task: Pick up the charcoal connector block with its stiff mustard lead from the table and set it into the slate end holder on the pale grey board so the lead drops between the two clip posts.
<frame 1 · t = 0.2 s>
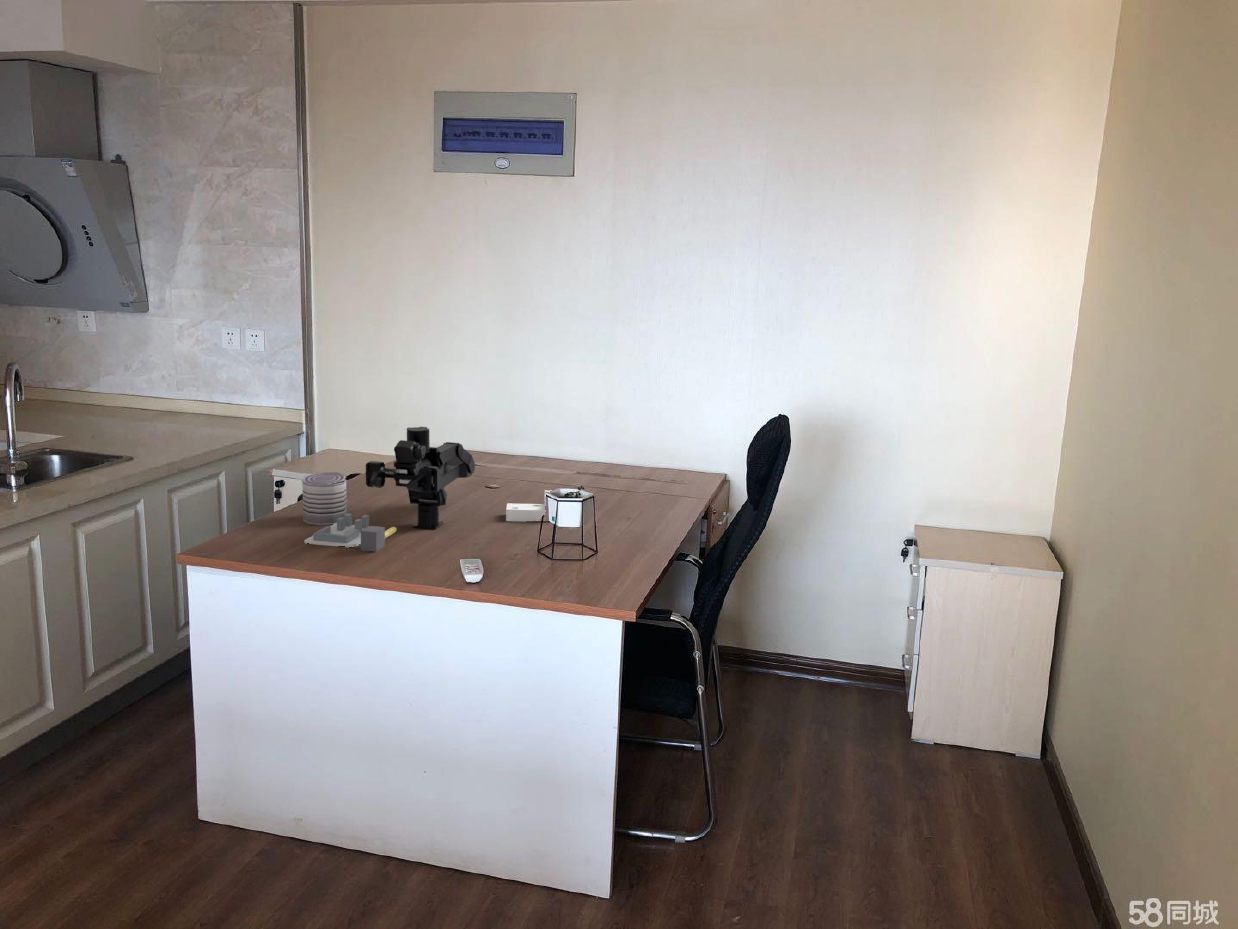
hand: (389, 484, 235), 17 cm above the table, tool horizontal, fingers open, 9 cm apart
can: (325, 520, 264), on the table
plug: (373, 548, 240), on the table
bracket: (529, 519, 275), on the table
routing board: (344, 536, 249), on the table
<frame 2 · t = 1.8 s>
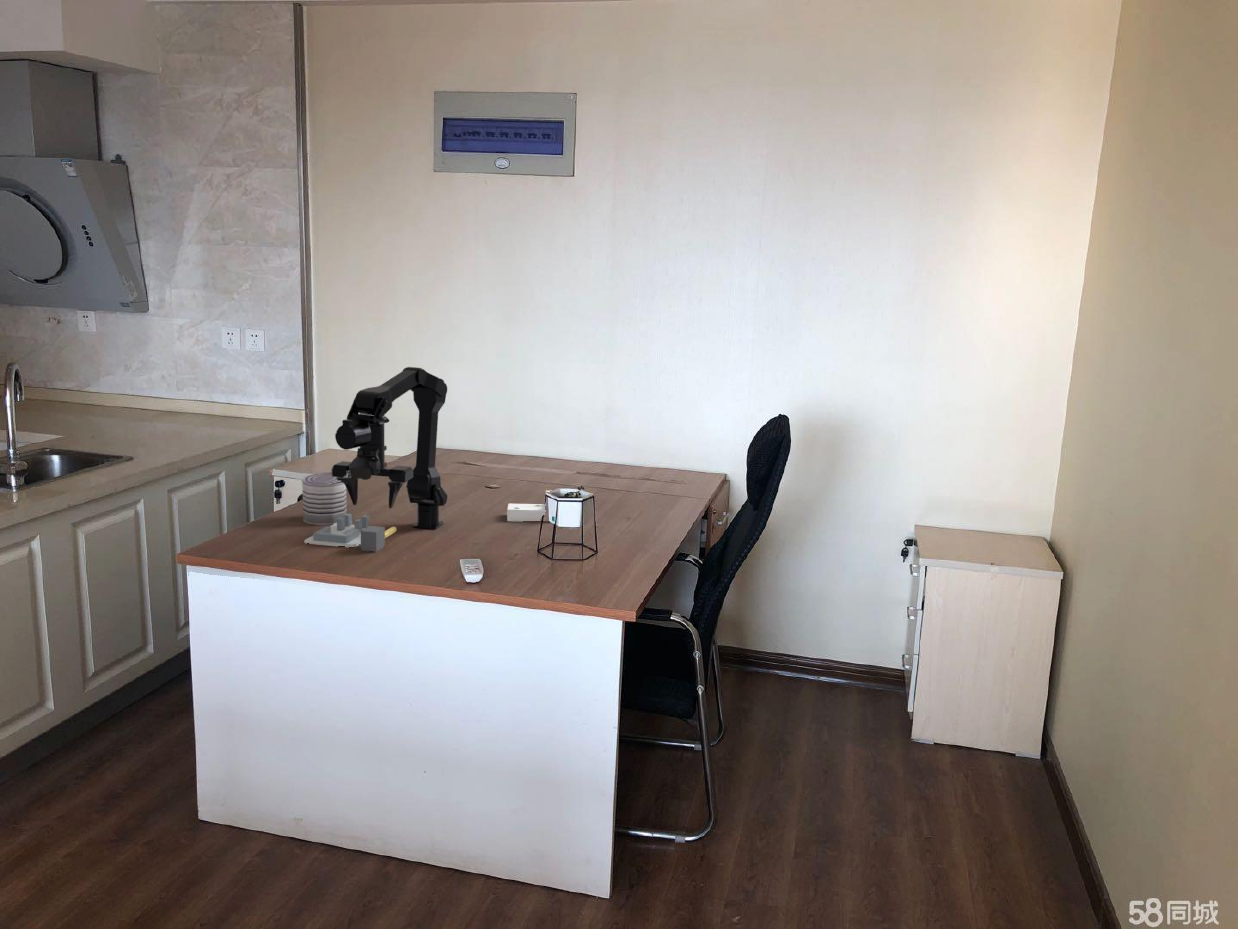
hand: (372, 506, 238), 11 cm above the table, tool pointing down, fingers open, 9 cm apart
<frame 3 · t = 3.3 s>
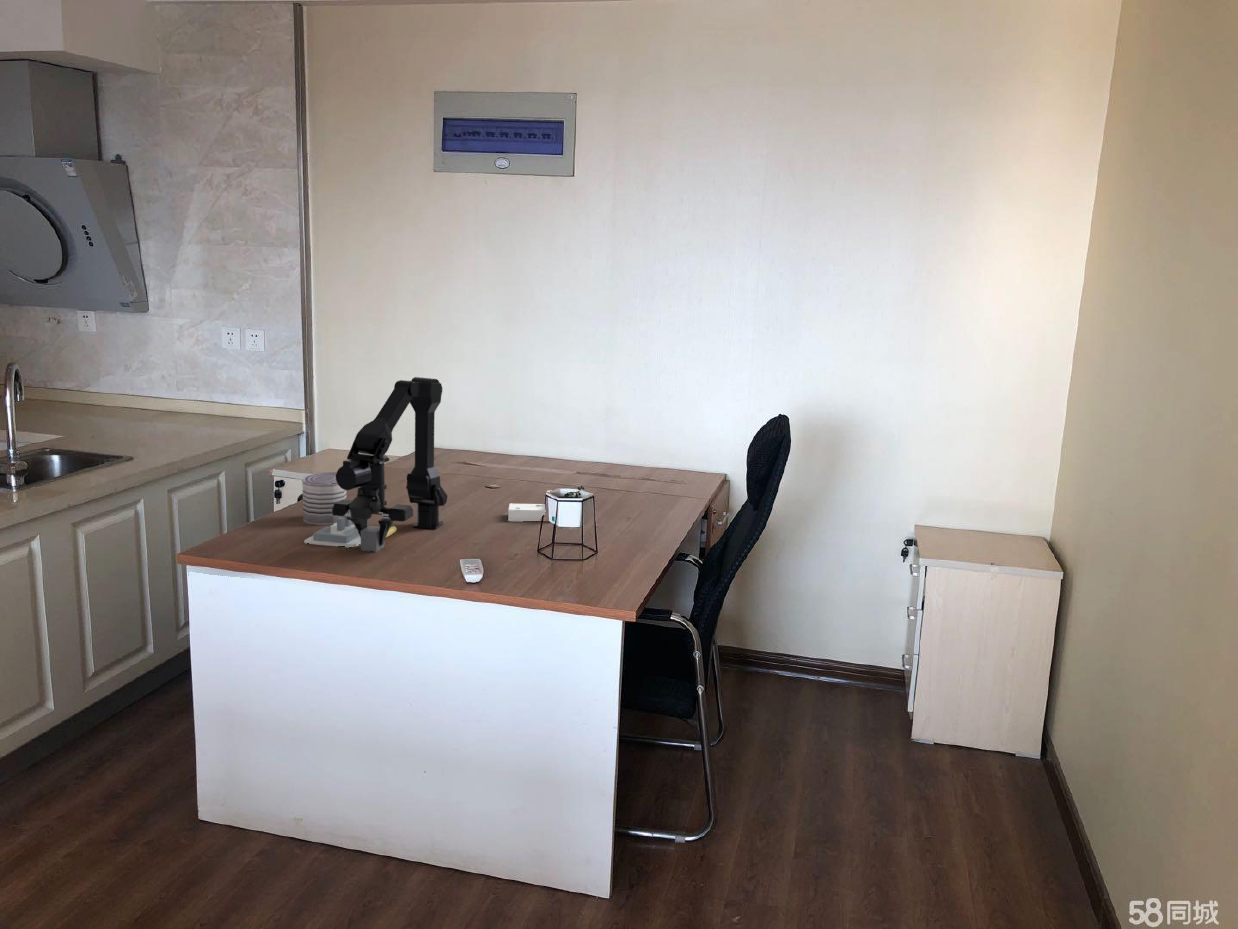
hand: (372, 544, 240), 1 cm above the table, tool pointing down, fingers closed on plug, 4 cm apart
plug: (372, 548, 240), on the table, touching gripper
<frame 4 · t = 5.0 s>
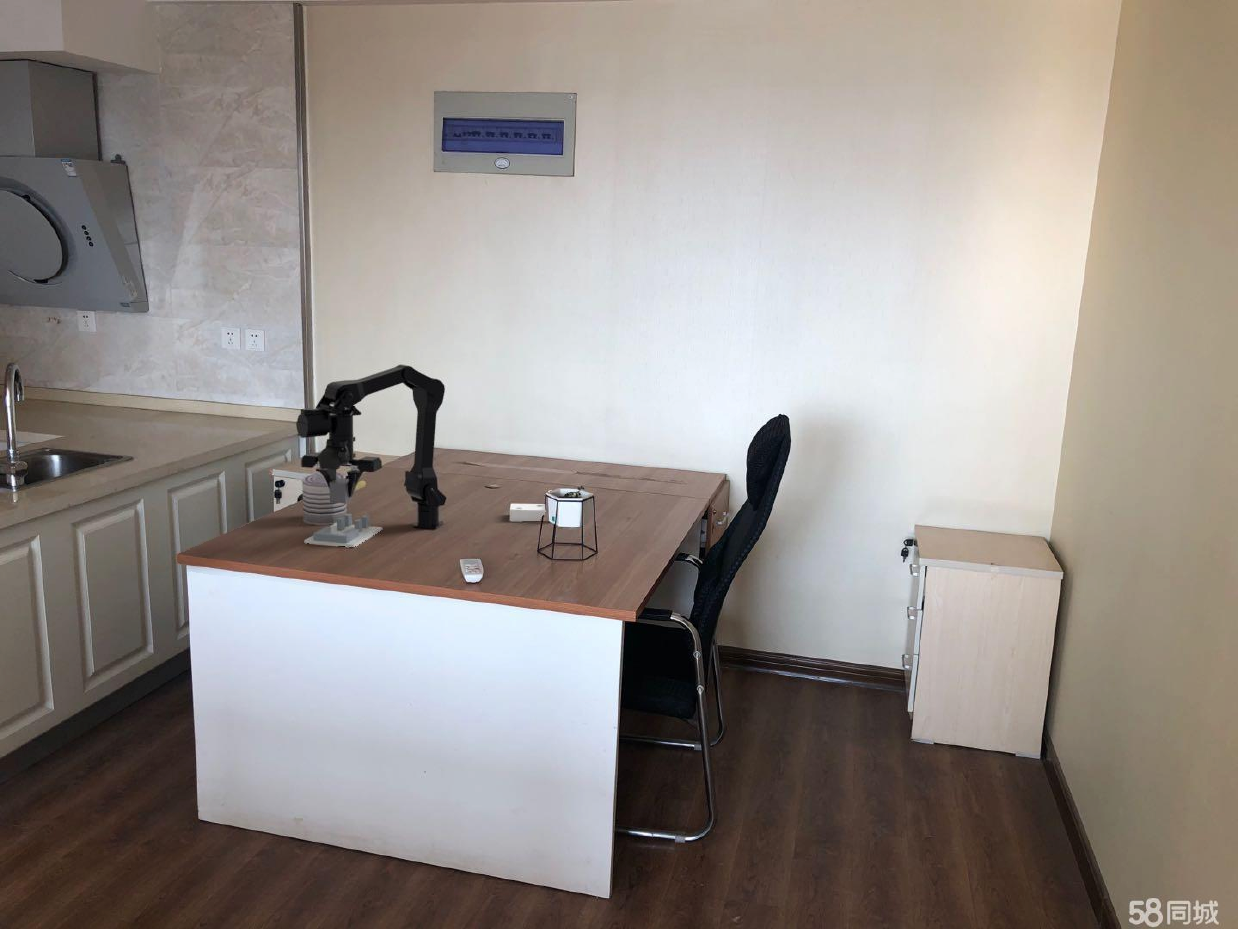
hand: (341, 496, 243), 12 cm above the table, tool pointing down, fingers closed on plug, 4 cm apart
plug: (341, 500, 243), point 11 cm above the table, touching gripper
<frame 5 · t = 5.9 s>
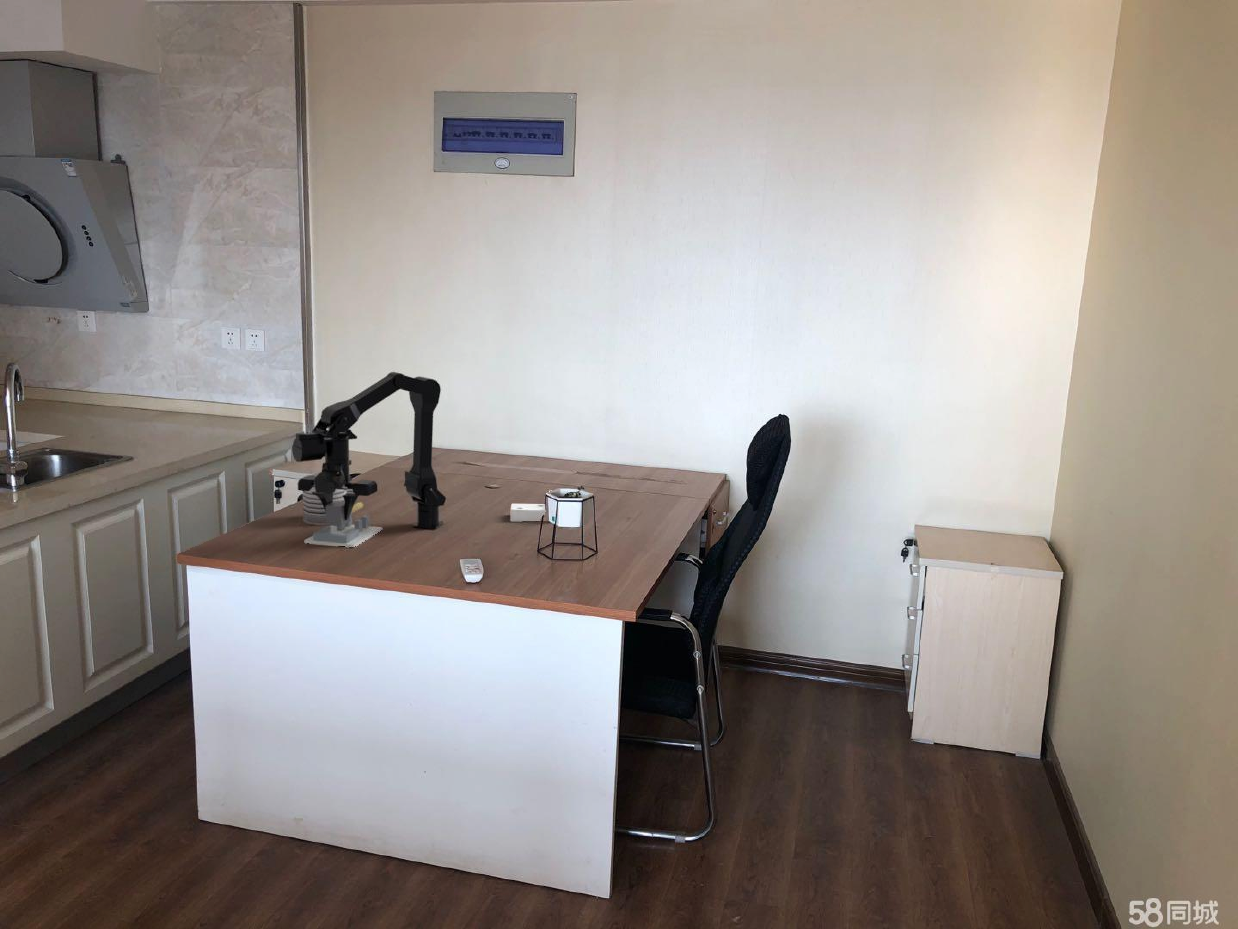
hand: (338, 519, 245), 5 cm above the table, tool pointing down, fingers closed on plug, 4 cm apart
plug: (338, 523, 245), point 4 cm above the table, touching gripper
when the fingers open (3 cm above the table, at t = 6.7 s): plug drops 1 cm, resting on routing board.
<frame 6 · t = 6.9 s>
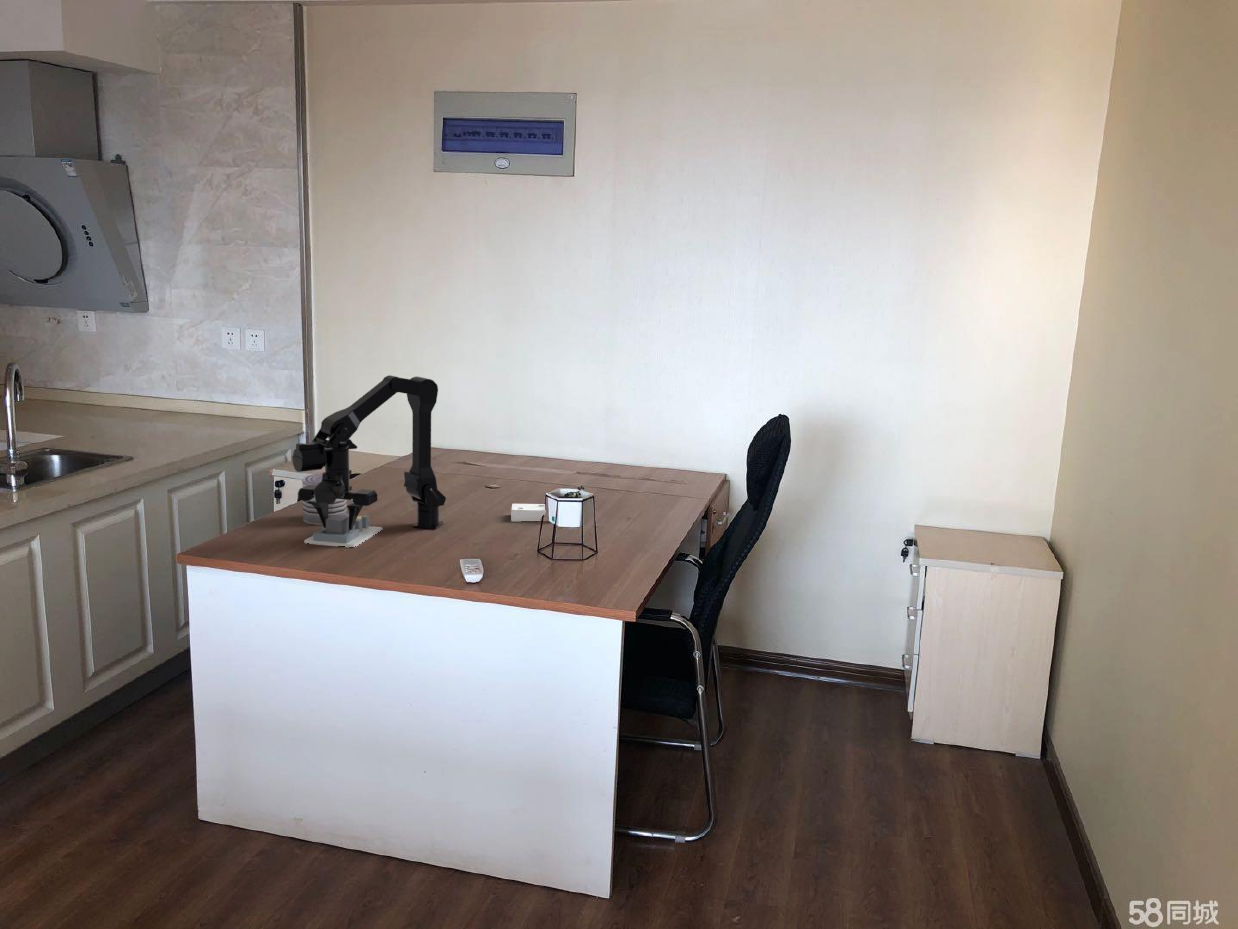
hand: (338, 528, 245), 3 cm above the table, tool pointing down, fingers open, 6 cm apart
plug: (338, 537, 246), point 1 cm above the table, touching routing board
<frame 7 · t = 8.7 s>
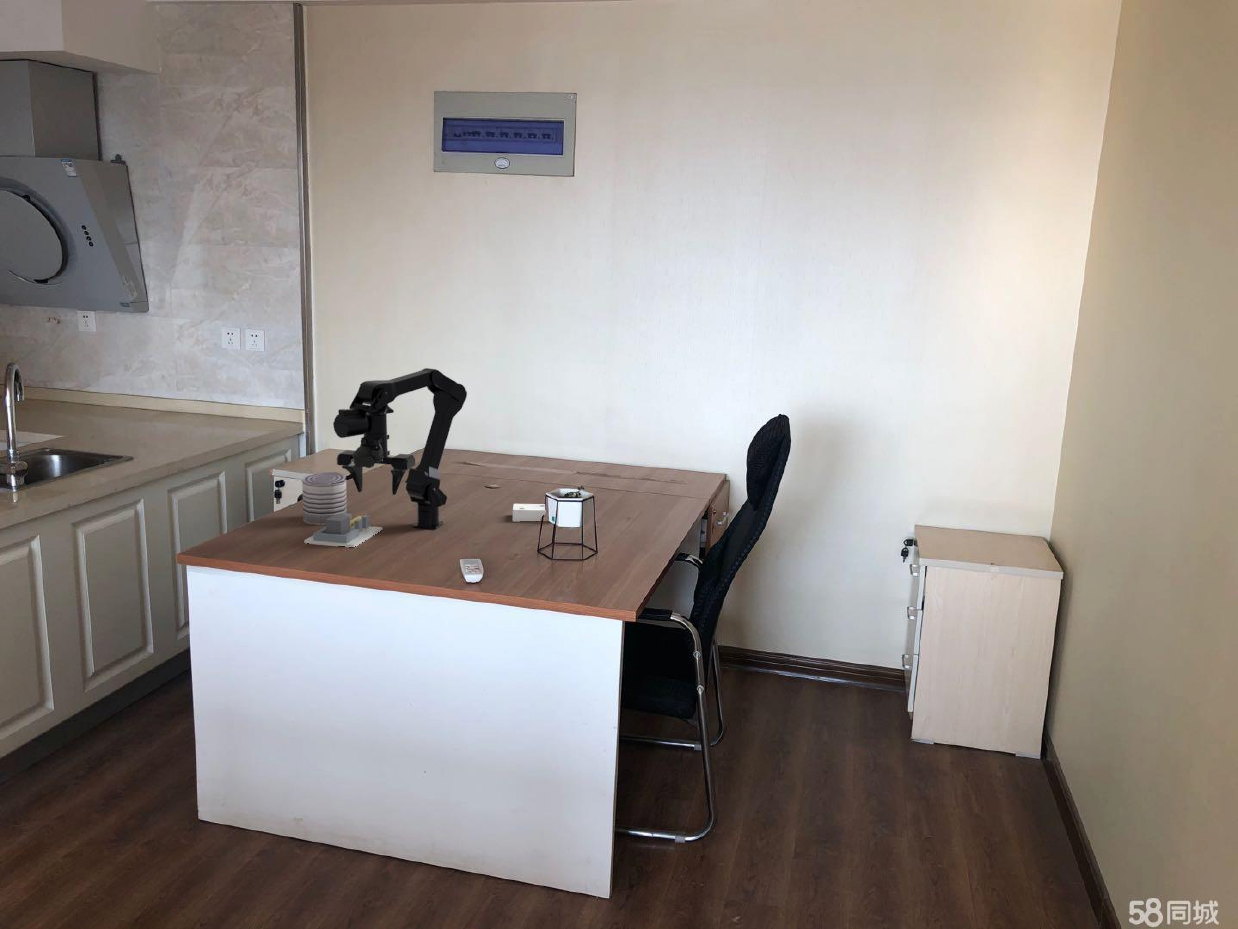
hand: (377, 493, 247), 12 cm above the table, tool pointing down, fingers open, 9 cm apart
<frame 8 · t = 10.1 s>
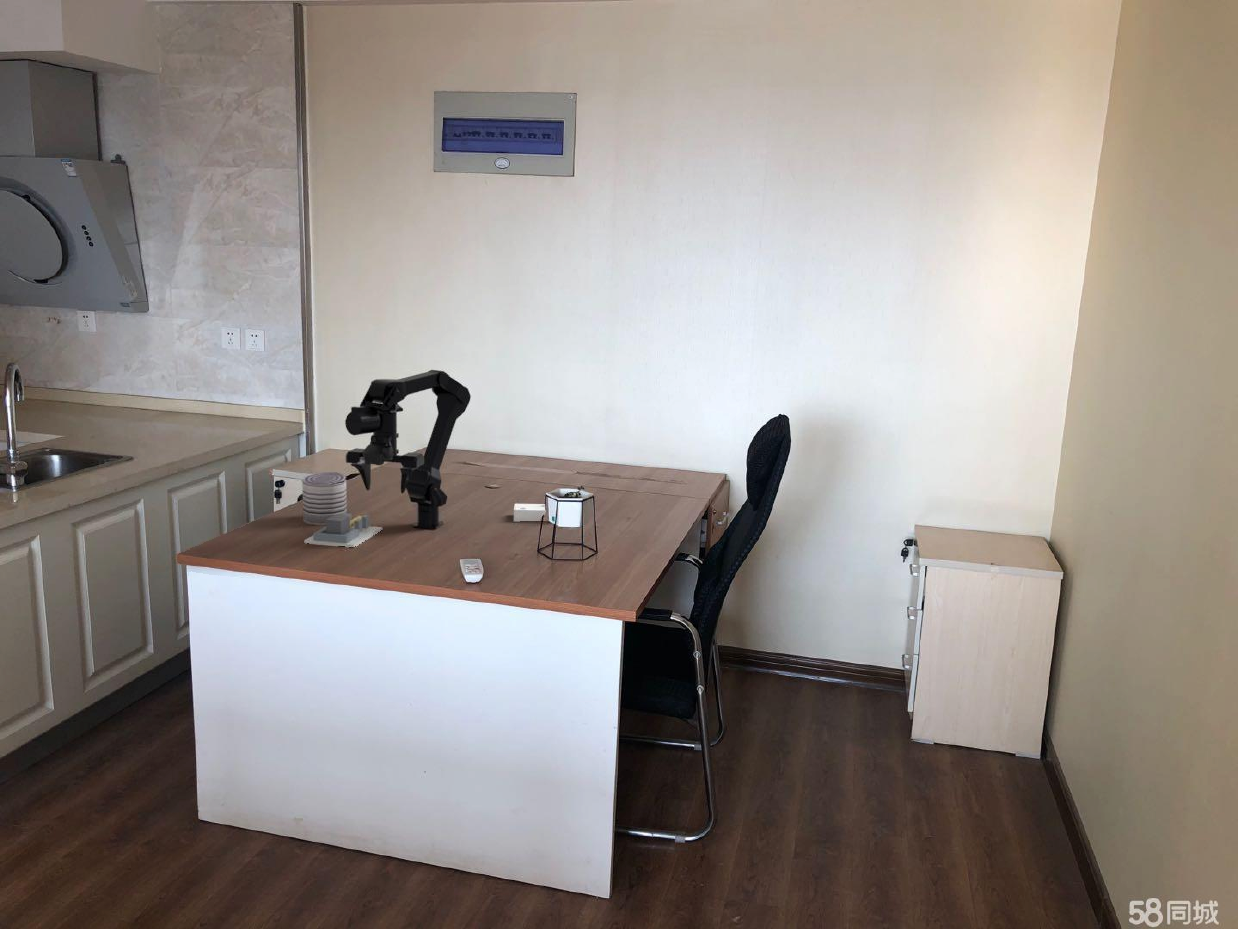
hand: (385, 491, 248), 12 cm above the table, tool pointing down, fingers open, 9 cm apart
at the end: plug 0.1 cm from the target spot on the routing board, point 0.8 cm above the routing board's base; plug tilted 0°; the gripper is holding nothing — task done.
